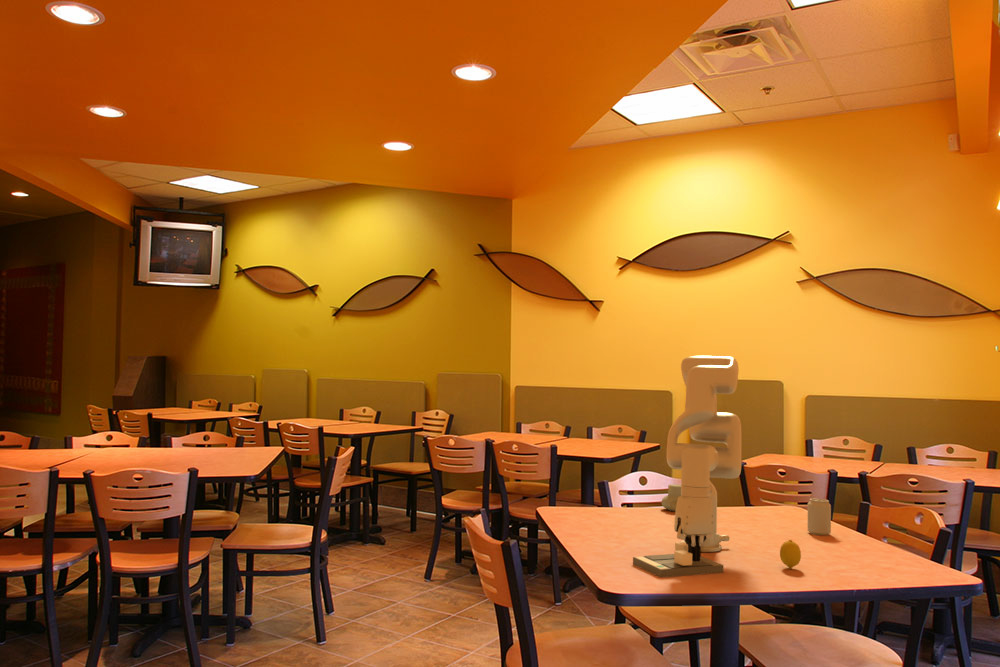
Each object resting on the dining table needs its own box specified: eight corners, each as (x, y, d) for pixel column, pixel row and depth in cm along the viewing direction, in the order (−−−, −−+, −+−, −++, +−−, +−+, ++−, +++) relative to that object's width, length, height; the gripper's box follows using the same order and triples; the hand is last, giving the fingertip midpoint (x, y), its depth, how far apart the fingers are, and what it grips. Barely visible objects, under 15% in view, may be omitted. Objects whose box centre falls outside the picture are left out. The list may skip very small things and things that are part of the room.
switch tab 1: (683, 552, 214) (684, 541, 215) (692, 555, 211) (692, 545, 211) (674, 553, 213) (675, 542, 213) (683, 556, 210) (683, 545, 210)
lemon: (783, 565, 213) (783, 536, 214) (803, 568, 210) (803, 539, 210) (776, 568, 209) (777, 539, 210) (797, 572, 206) (797, 542, 206)
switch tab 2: (683, 561, 204) (683, 550, 204) (692, 564, 200) (692, 553, 200) (674, 561, 203) (674, 550, 203) (682, 565, 199) (682, 554, 199)
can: (827, 537, 255) (827, 501, 256) (804, 533, 260) (805, 499, 260) (833, 533, 261) (833, 499, 262) (810, 530, 266) (810, 496, 266)
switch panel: (692, 560, 216) (693, 552, 216) (723, 572, 203) (723, 564, 203) (632, 564, 209) (633, 556, 209) (660, 577, 196) (660, 568, 196)
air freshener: (665, 512, 295) (665, 486, 295) (659, 508, 303) (659, 483, 304) (692, 512, 296) (692, 487, 296) (685, 508, 304) (685, 484, 304)
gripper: (709, 489, 210) (708, 555, 209) (664, 491, 204) (663, 558, 203) (726, 493, 203) (725, 562, 202) (680, 495, 197) (679, 565, 196)
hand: (694, 560), depth 203 cm, fingers closed
